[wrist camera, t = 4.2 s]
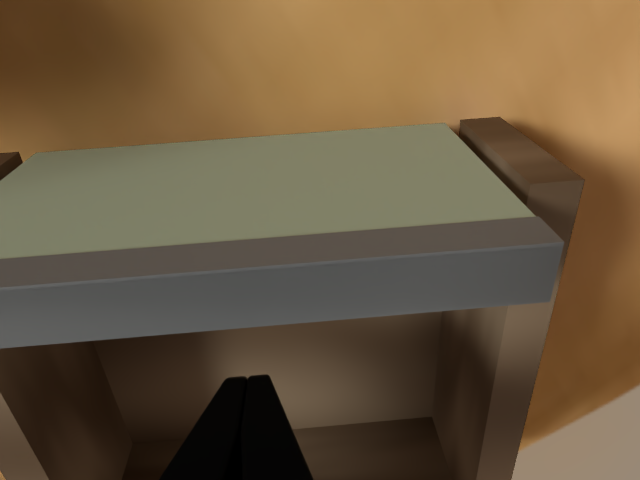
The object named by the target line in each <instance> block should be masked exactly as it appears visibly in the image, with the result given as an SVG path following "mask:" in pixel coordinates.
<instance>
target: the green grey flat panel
mask: <svg viewBox="0 0 640 480" xmlns="http://www.w3.org/2000/svg"><path fill="white" fill-rule="evenodd" d="M563 246H564V241H563V240H562V239H561V238H560V237H559V236H558V235H557V234H556V233H555V232H554V231H553V230H552V229H551V228H550V227H549V226H548V225H547V224H546V223H545V222H544V221H543V220H542V219H541V218H540V217H539V216H538V217H536V216H535V215H534V214H533V213H532V212H531V211H530V210H529V209H528V208H527V207H526V206H525V205H524V204H523V203H522V202H521V201H520V200H519V199H518V198H517V197H516V195H515V194H514V193H513V192H512V191H511V190H510V189H509V188H508V187H507V186H506V185H505V184H504V183H503V182H502V181H501V180H500V179H499V178H498V177H497V176H496V175H495V174H494V173H493V172H492V171H491V170H490V169H489V168H488V167H487V166H486V165H485V164H484V163H483V162H482V161H481V160H480V159H479V158H478V157H477V155H476V154H475V153H474V152H473V151H472V150H471V149H470V148H469V147H468V146H467V145H466V144H465V143H464V142H463V141H462V140H461V139H460V138H459V137H458V136H457V135H456V134H455V133H454V132H453V131H452V130H451V129H450V128H449V127H448V126H447V125H446V124H445V123H437V124H423V125H409V126H396V127H382V128H368V129H354V130H341V131H327V132H313V133H300V134H286V135H272V136H259V137H245V138H231V139H217V140H204V141H190V142H176V143H163V144H149V145H135V146H122V147H108V148H94V149H80V150H67V151H53V152H39V153H35V154H34V155H32V156H31V157H30V158H29V159H27V160H26V161H25V162H24V163H22V164H21V165H20V166H18V167H17V168H16V169H15V170H13V171H12V172H11V173H10V174H8V175H7V176H6V177H5V178H3V179H2V180H1V181H0V349H1V348H13V347H25V346H37V345H48V344H60V343H72V342H84V341H96V340H108V339H119V338H131V337H143V336H155V335H167V334H179V333H190V332H202V331H214V330H226V329H238V328H250V327H261V326H273V325H285V324H297V323H309V322H321V321H332V320H344V319H356V318H368V317H380V316H392V315H403V314H415V313H427V312H439V311H451V310H463V309H474V308H486V307H498V306H510V305H522V304H534V303H545V302H550V300H551V296H552V292H553V287H554V283H555V279H556V275H557V271H558V266H559V262H560V258H561V254H562V250H563Z"/></svg>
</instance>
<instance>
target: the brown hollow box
mask: <svg viewBox="0 0 640 480" xmlns="http://www.w3.org/2000/svg"><path fill="white" fill-rule="evenodd" d="M459 138H460V139H461V140H462V141H463V142H464V143H465V144H466V145H467V146H468V147H469V148H470V149H471V150H472V151H473V152H474V153H475V154H476V155H477V157H478V158H479V159H480V160H481V161H482V162H483V163H484V164H485V165H486V166H487V167H488V168H489V169H490V170H491V171H492V172H493V173H494V174H495V175H496V176H497V177H498V178H499V179H500V180H501V181H502V182H503V183H504V184H505V185H506V186H507V187H508V188H509V189H510V190H511V191H512V192H513V193H514V194H515V195H516V197H517V198H518V199H519V200H520V201H521V202H522V203H523V204H524V205H525V206H526V207H527V208H528V209H529V210H530V211H531V212H532V213H533V214H534V215H535V216H536V217H538V216H539V217H540V218H541V219H542V220H543V221H544V222H545V223H546V224H547V225H548V226H549V227H550V228H551V229H552V230H553V231H554V232H555V233H556V234H557V235H558V236H559V237H560V238H561V239H562V240H563V241H564V246H563V250H562V254H561V258H560V262H559V266H558V271H557V275H556V279H555V283H554V287H553V292H552V296H551V300H550V302H545V303H534V304H522V305H510V306H498V307H486V308H474V309H463V310H451V311H439V312H427V313H415V314H403V315H392V316H380V317H368V318H356V319H344V320H332V321H321V322H309V323H297V324H285V325H273V326H261V327H250V328H238V329H226V330H214V331H202V332H190V333H179V334H167V335H155V336H143V337H131V338H119V339H108V340H96V341H84V342H72V343H60V344H48V345H37V346H25V347H13V348H1V349H0V471H1V472H2V474H3V476H4V477H5V479H6V480H158V479H159V478H160V476H161V475H162V473H163V472H164V470H165V469H166V467H167V466H168V464H169V463H170V461H171V460H172V458H173V457H174V455H175V454H176V452H177V451H178V449H179V448H180V446H181V445H182V443H183V442H184V440H185V439H186V437H187V436H188V434H189V433H190V431H191V430H192V428H193V427H194V425H195V424H196V422H197V421H198V419H199V418H200V416H201V415H202V413H203V412H204V410H205V409H206V407H207V406H208V404H209V403H210V401H211V400H212V398H213V396H214V395H215V393H216V392H217V390H218V389H219V387H220V386H221V384H222V383H223V381H224V380H225V379H226V378H228V377H239V376H245V377H247V378H249V376H251V375H263V374H267V375H269V376H270V378H271V380H272V382H273V385H274V387H275V390H276V392H277V394H278V397H279V399H280V401H281V404H282V406H283V408H284V411H285V413H286V416H287V418H288V420H289V423H290V425H291V427H292V430H293V432H294V434H295V437H296V439H297V442H298V444H299V446H300V449H301V451H302V453H303V456H304V458H305V460H306V463H307V465H308V468H309V470H310V472H311V475H312V477H313V479H314V480H511V478H512V474H513V470H514V466H515V462H516V458H517V454H518V450H519V446H520V441H521V437H522V433H523V429H524V425H525V421H526V417H527V413H528V409H529V405H530V401H531V397H532V393H533V388H534V384H535V380H536V376H537V372H538V368H539V364H540V360H541V356H542V352H543V348H544V344H545V340H546V335H547V331H548V327H549V323H550V319H551V315H552V311H553V307H554V303H555V299H556V295H557V291H558V287H559V282H560V278H561V274H562V270H563V266H564V262H565V258H566V254H567V250H568V246H569V242H570V238H571V234H572V229H573V225H574V221H575V217H576V213H577V209H578V205H579V201H580V197H581V193H582V189H583V185H584V181H585V180H584V179H583V178H582V177H580V176H579V175H578V174H576V173H575V172H573V171H572V170H571V169H569V168H568V167H567V166H565V165H564V164H563V163H561V162H560V161H559V160H557V159H556V158H554V157H553V156H552V155H550V154H549V153H548V152H546V151H545V150H544V149H542V148H541V147H540V146H538V145H537V144H536V143H534V142H533V141H531V140H530V139H529V138H527V137H526V136H525V135H523V134H522V133H521V132H519V131H518V130H517V129H515V128H514V127H512V126H511V125H510V124H508V123H507V122H506V121H504V120H503V119H502V118H500V117H492V118H479V119H465V120H460V131H459ZM22 163H23V162H22V159H21V157H20V154H19V152H12V153H0V181H1V180H2V179H3V178H5V177H6V176H7V175H8V174H10V173H11V172H12V171H13V170H15V169H16V168H17V167H18V166H20V165H21V164H22Z"/></svg>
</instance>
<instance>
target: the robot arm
mask: <svg viewBox="0 0 640 480" xmlns="http://www.w3.org/2000/svg"><path fill="white" fill-rule="evenodd" d="M158 480H314V479H313V477H312V475H311V472H310V470H309V468H308V465H307V463H306V460H305V458H304V456H303V453H302V451H301V449H300V446H299V444H298V442H297V439H296V437H295V434H294V432H293V430H292V427H291V425H290V423H289V420H288V418H287V416H286V413H285V411H284V408H283V406H282V404H281V401H280V399H279V397H278V394H277V392H276V390H275V387H274V385H273V382H272V380H271V378H270V376H269V375H267V374H263V375H251V376H249V378H247V377H245V376H239V377H228V378H226V379H225V380H224V381H223V383H222V384H221V386H220V387H219V389H218V390H217V392H216V393H215V395H214V396H213V398H212V400H211V401H210V403H209V404H208V406H207V407H206V409H205V410H204V412H203V413H202V415H201V416H200V418H199V419H198V421H197V422H196V424H195V425H194V427H193V428H192V430H191V431H190V433H189V434H188V436H187V437H186V439H185V440H184V442H183V443H182V445H181V446H180V448H179V449H178V451H177V452H176V454H175V455H174V457H173V458H172V460H171V461H170V463H169V464H168V466H167V467H166V469H165V470H164V472H163V473H162V475H161V476H160V478H159V479H158Z"/></svg>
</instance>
